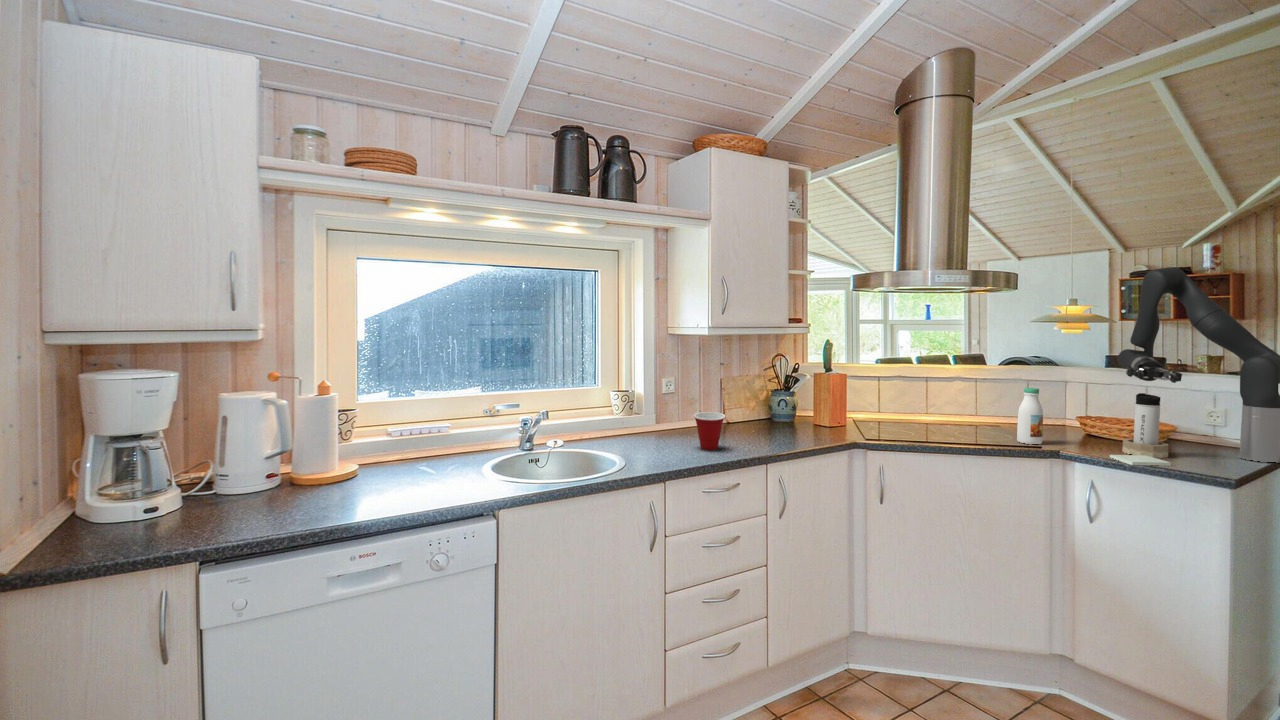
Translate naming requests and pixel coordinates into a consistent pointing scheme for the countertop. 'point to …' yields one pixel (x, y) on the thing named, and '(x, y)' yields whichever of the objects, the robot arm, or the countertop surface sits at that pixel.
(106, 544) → the countertop surface
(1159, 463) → the sage pad
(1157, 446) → the collar ring
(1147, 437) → the travel mug
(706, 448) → the plastic cup
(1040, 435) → the milk bottle
